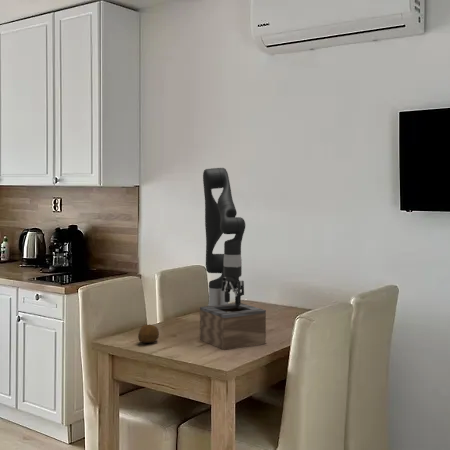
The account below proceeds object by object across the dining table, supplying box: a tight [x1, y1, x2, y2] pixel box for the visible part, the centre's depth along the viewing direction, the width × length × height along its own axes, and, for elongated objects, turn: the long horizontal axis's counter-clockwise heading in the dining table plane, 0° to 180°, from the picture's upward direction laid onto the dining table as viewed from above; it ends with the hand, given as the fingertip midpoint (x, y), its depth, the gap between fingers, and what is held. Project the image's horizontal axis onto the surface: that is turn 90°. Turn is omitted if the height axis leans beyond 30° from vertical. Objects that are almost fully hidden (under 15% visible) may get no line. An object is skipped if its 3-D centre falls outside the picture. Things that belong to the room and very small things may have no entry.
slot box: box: [199, 302, 267, 351], centre depth 262 cm, size 20×20×14 cm
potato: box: [137, 324, 160, 344], centre depth 260 cm, size 8×12×8 cm, turn 170°
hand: (232, 303), depth 262 cm, fingers open, 8 cm apart
